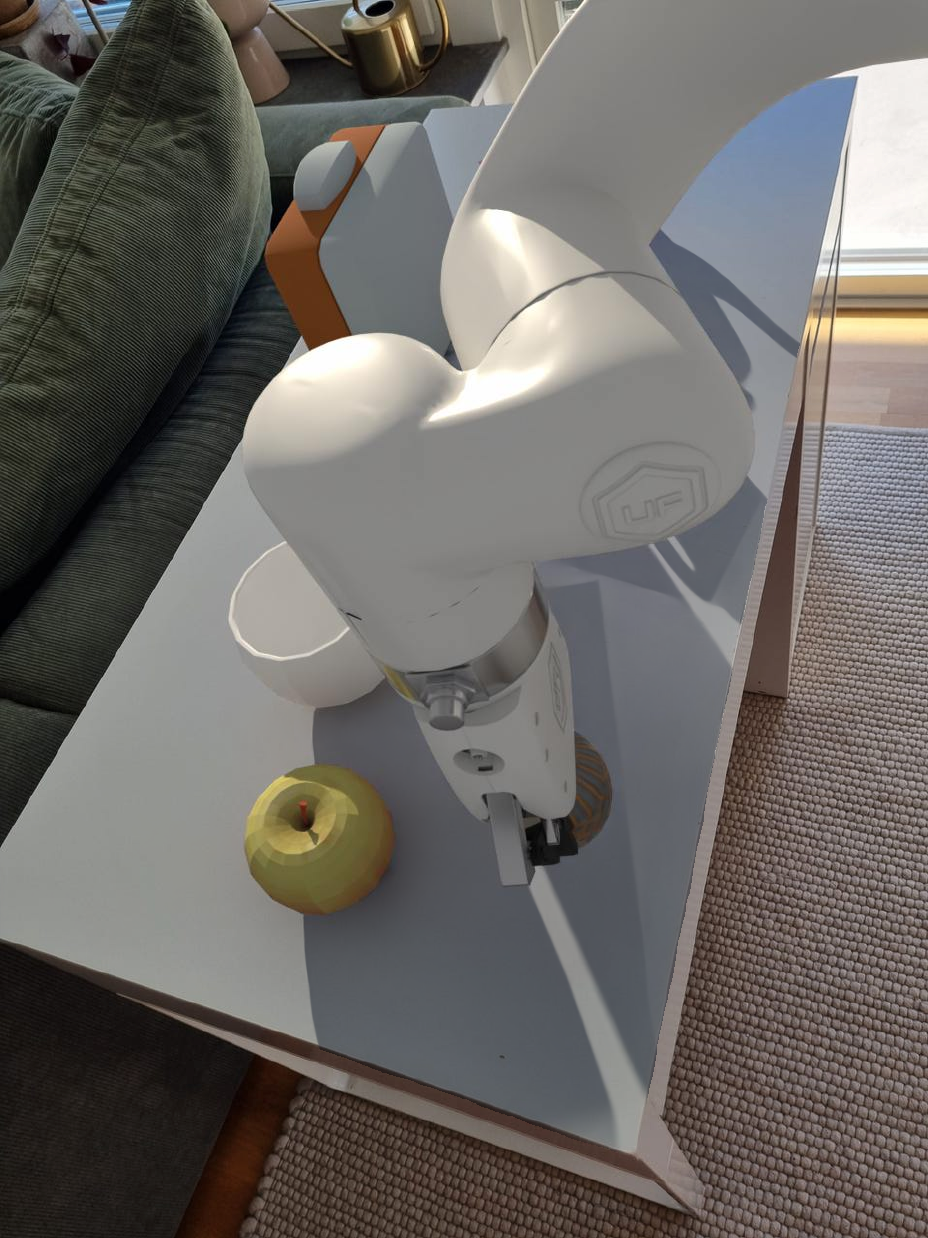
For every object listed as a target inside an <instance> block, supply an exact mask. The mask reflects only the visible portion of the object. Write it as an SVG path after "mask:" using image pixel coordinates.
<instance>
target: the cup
mask: <svg viewBox="0 0 928 1238" xmlns="http://www.w3.org/2000/svg"><path fill="white" fill-rule="evenodd" d="M230 598H231V599H230V605H229V613H228V620H227V621H228V624H229V627H230V630H231V633H232V636H233V639H234V643H235V644H236V647H237V651H238V653H239V656H240V660H241V661H242V663H243V664H244V665H245V666H246V667H247V669H249V671H251V673H252V674H253V675H254V676H255V678H257V679H258V680H259V682H261V683H262V684H263V685H265V686H266V687H267V688H268V689H269V690H270V691H271V692H272V693H274V694H275V695H276V696H278V697H280V698H283V699H285V700H287V701H290V702H293V703H295V704H299V705H304V706H308V707H312V708H316V709H324V708H330V707H336V706H342V705H347V704H349V703H352V702H354V701H355V700H357V699H358V700H359V698H362V697H363V696H365V695H367V694H369V693H372V691H374V690H375V689H376V688H377V686H378V685H379V684H380V683H381V682H382V681H383V680H384V679H386V678H385V676H384V675H383V674H382V672H381V671H380V669H379V668H378V667H377V665H376V664H375V663H374V661H373V660H372V658H371V657H370V656H369V654H368V653H367V652H366V650H365V649H364V647H363V646H362V645H361V643H360V642H359V640H358V639H357V637H356V636H355V635H354V633H353V632H352V631H351V629H350V628H349V626H348V625H347V624H346V622H345V621H344V620H343V618H342V617H341V615H340V614H339V613H338V611H337V610H336V609H335V607H334V606H333V605H332V603H331V602H330V600H329V599H328V598H327V596H326V595H325V594H324V592H323V591H322V589H321V588H320V587H319V585H318V584H317V583H316V581H315V580H314V579H313V577H312V576H311V574H310V573H309V572H308V570H307V569H306V568H305V566H304V565H303V563H302V562H301V561H300V559H299V558H298V557H297V555H296V554H295V553H294V551H293V550H292V548H291V547H290V546H289V544H288V543H287V542H286V540H285V541H283V542H281V543H279V544H277V545H275V546H273V547H271V548H270V549H269V548H268V549H267V550H266V551H265V552H264V553H263V554H261V555H260V556H259V557H258V558H257V560H255V561H254V562H253V563H252V564H251V565H250V566H249V567H248V568H247V569H246V570H245V571H244V573H243V574H242V576H241V578H240V580H239V582H238V583H237V585H236V587H235V589H234V591H233V593H232V594H231V597H230Z"/></svg>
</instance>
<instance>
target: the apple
mask: <svg viewBox="0 0 928 1238" xmlns="http://www.w3.org/2000/svg"><path fill="white" fill-rule="evenodd" d="M251 809H252V810H251V811H250V814H249V815H248V817H247V820H246V827H245V835H244V842H243V843H244V845H243V846H244V848H243V849H244V855H245V858H246V863H247V866H248V870H249V873H250V875H251V877H252V878H253V879H254V881H255V882H256V883H257V884H258V885H259V887H260V888H261V889H262V890H263V891H264V892H265V894H266V895H267V896H268V897H269V898H270V899H271V900H273V901H274V902H276V903H277V904H279V905H282V906H284V907H286V908H289V909H290V910H293V911H294V912H297V913H299V914H301V915H329V914H332V913H335V912H339V911H340V910H344V909H346V908H349V907H351V906H354V905H356V904H358V903H359V902H360V901H362V899H363V898H364V897H366V896H367V895H368V894H369V893H370V892H372V891H373V890H374V889H375V888H376V887H377V885H378V883H379V882H380V880H381V879H382V877H383V875H384V874H385V872H386V870H387V869H388V867H389V865H390V862H391V858H392V854H393V849H394V848H393V847H394V844H395V839H396V836H395V835H396V834H395V830H394V824H393V818H392V817H393V816H392V813H391V811H390V809H389V807H388V805H387V804H386V802H385V801H384V799H383V798H382V797H381V795H380V793H379V791H378V790H377V789H376V787H375V786H374V785H373V784H372V783H371V782H370V781H369V780H368V779H367V778H365V777H363V776H362V775H360V774H359V773H357V772H356V771H353V770H352V769H350V768H349V767H345V766H338V765H332V764H325V763H317V764H316V763H315V764H313V765H312V764H311V765H306V766H302V767H296V768H294V769H292V770H291V771H288V772H287V773H285V774H283V775H282V776H280V777H278V778H276V779H274V781H272V783H270V784H269V786H268V787H267V788H266V789H265V790H264V791H263V792H262V793H261V794H260V795H259V796H258V797H257V799H256V801H255V803H254V805H253V807H252V808H251Z"/></svg>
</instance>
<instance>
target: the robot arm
mask: <svg viewBox="0 0 928 1238" xmlns="http://www.w3.org/2000/svg"><path fill="white" fill-rule="evenodd" d="M922 59H928V0H583V1H582V3H581V4H580V5H579V6H578V7H577V9H576V10H575V11H574V12H573V13H572V15H571V16H569V18H568V19H567V21H566V22H565V24H564V25H563V26H562V27H561V29H560V30H559V32H558V33H557V34H556V36H555V37H554V38H553V40H552V42H551V43H550V44H549V46H548V47H547V49H546V50H545V52H544V53H543V55H542V56H541V58H540V59H539V61H538V63H537V64H536V65H535V67H534V69H533V71H532V72H531V74H530V75H529V77H528V79H527V81H526V83H525V84H524V86H523V88H522V90H521V91H520V93H519V95H518V96H517V98H516V100H515V101H514V104H513V105H512V107H511V109H510V111H509V112H508V114H507V116H506V118H505V120H504V122H503V124H502V125H501V127H500V129H499V131H498V133H497V134H496V136H495V138H493V139H494V140H493V141H492V143H491V145H490V147H489V149H488V151H487V152H486V154H485V156H484V158H482V159H483V161H482V160H481V161H482V163H481V165H479V167H478V169H477V171H476V172H475V174H474V175H473V178H472V180H471V183H470V184H469V186H468V188H467V190H466V192H465V194H464V197H463V198H462V200H461V203H460V205H459V208H458V210H457V213H456V214H455V216H454V218H453V220H454V222H453V225H452V227H451V230H450V234H449V237H448V241H447V245H446V248H445V252H444V256H443V260H442V268H441V282H440V295H441V303H442V309H443V314H444V318H445V321H446V325H447V328H448V331H449V335H450V338H451V343H452V346H453V349H454V351H455V355H456V358H457V360H458V363H459V365H460V368H461V370H458V369H457V368H455V367H454V366H452V365H451V364H450V362H448V360H446V358H444V357H442V356H440V355H439V354H438V353H437V352H435V351H434V350H433V349H432V348H430V347H429V346H427V345H425V344H423V343H421V342H419V341H417V340H414V339H412V338H409V337H406V336H402V335H397V334H391V333H369V334H359V335H354V336H349V337H344V338H340V339H337V340H334V341H331V342H328V343H326V344H324V345H321V346H319V347H317V348H315V349H313V350H311V351H309V350H308V351H307V352H306V353H304V354H303V355H301V356H299V357H297V358H296V359H295V360H293V361H292V362H290V363H289V364H288V365H286V366H285V367H284V368H283V369H282V370H281V371H280V372H279V373H278V374H276V376H273V378H272V379H271V381H270V382H269V383H268V384H267V386H265V388H264V389H263V390H262V392H261V393H260V395H259V396H258V397H257V399H256V401H255V402H254V403H253V405H252V408H251V410H250V412H249V414H248V417H247V419H246V423H245V426H244V428H243V429H244V430H243V435H242V443H241V457H242V463H243V470H244V474H245V478H246V480H247V483H248V486H249V488H250V490H251V492H252V494H253V496H254V497H255V499H256V500H257V502H258V504H259V505H260V507H261V508H262V510H263V511H264V513H265V514H266V516H267V517H268V518H269V520H270V521H271V522H272V524H273V525H274V527H275V528H276V530H277V531H278V532H279V534H280V535H281V537H283V539H284V540H285V541H286V542H287V543H288V544H289V546H290V547H291V548H292V550H293V551H294V553H295V554H296V555H297V557H298V558H299V559H300V561H301V562H302V563H303V565H304V566H305V568H306V569H307V570H308V572H309V573H310V574H311V576H312V577H313V579H314V580H315V581H316V583H317V584H318V585H319V587H320V588H321V589H322V591H323V592H324V594H325V595H326V596H327V598H328V599H329V600H330V602H331V603H332V605H333V606H334V607H335V609H336V610H337V611H338V613H339V614H340V615H341V617H342V618H343V620H344V621H345V622H346V624H347V625H348V626H349V628H350V629H351V631H352V632H353V633H354V635H355V636H356V637H357V639H358V640H359V642H360V643H361V645H362V646H363V647H364V649H365V650H366V652H367V653H368V654H369V656H370V657H371V658H372V660H373V661H374V663H375V664H376V665H377V667H378V668H379V669H380V671H381V672H382V674H383V675H384V676H385V678H384V679H386V681H387V682H388V684H389V685H390V686H391V688H393V689H394V690H395V692H396V693H397V694H398V695H399V696H400V697H402V698H403V699H404V700H406V701H407V702H408V703H411V706H412V711H413V714H414V717H415V718H416V722H417V724H418V725H419V728H420V730H421V732H422V735H423V737H424V739H425V741H426V743H427V745H428V747H429V750H430V751H431V753H432V755H433V757H434V759H435V761H436V763H437V764H438V765H437V766H439V768H440V770H441V771H442V774H443V775H444V777H445V779H446V780H447V782H448V783H449V785H450V787H451V789H452V790H453V792H454V793H455V795H456V796H457V797H458V799H459V800H460V802H461V803H462V805H464V807H465V808H466V809H467V810H468V812H470V814H471V815H472V816H473V817H474V818H476V819H477V820H478V821H480V822H482V823H483V824H489V822H490V825H491V831H492V836H493V842H494V847H495V855H496V859H497V860H496V861H497V866H498V871H499V878H500V882H501V885H502V887H503V888H510V887H512V888H513V887H525V886H526V887H527V886H530V885H532V881H533V879H534V877H535V874H536V867H543V866H545V867H546V866H555V865H558V864H560V863H561V857H573V856H577V855H579V849H578V843H577V841H576V839H575V837H574V836H573V834H572V832H571V830H570V828H569V826H568V825H567V823H566V821H565V819H564V818H563V817H566V816H567V815H568V814H569V813H570V812H571V810H572V808H573V806H574V804H575V798H576V769H575V744H574V731H575V724H574V705H573V703H574V702H573V688H572V671H571V663H570V662H571V661H570V655H569V649H568V645H567V642H566V640H565V637H564V635H563V633H562V630H561V628H560V626H559V624H558V621H557V620H556V617H555V615H554V613H553V611H552V610H551V605H550V602H549V599H548V596H547V595H546V591H545V589H544V585H543V584H542V581H541V578H540V576H539V573H538V571H537V567H536V566H535V563H537V562H538V563H539V562H545V561H554V560H560V559H561V560H562V559H569V558H570V559H571V558H577V557H585V556H593V555H601V554H608V553H613V552H614V553H615V552H619V551H624V550H630V549H634V548H639V547H643V546H647V545H651V544H655V543H659V542H661V541H665V540H667V539H670V538H672V537H675V536H678V535H681V534H683V533H685V532H687V531H689V530H692V529H694V528H696V527H697V526H699V525H701V524H703V523H704V522H706V521H707V520H709V519H710V518H712V517H713V516H715V515H716V514H718V512H719V511H721V510H722V509H723V508H724V507H725V506H726V505H727V504H728V503H729V502H730V501H731V500H732V499H733V498H734V496H735V495H736V494H737V493H738V491H739V490H740V489H741V487H742V486H743V484H744V483H745V481H746V478H747V477H748V474H749V472H750V469H751V467H752V465H753V464H752V463H753V460H754V456H755V448H756V432H755V431H756V430H755V426H754V425H755V424H754V419H753V415H752V411H751V408H750V406H749V403H748V400H747V398H746V396H745V394H744V392H743V390H742V388H741V385H740V384H739V382H738V380H737V378H736V376H735V374H734V373H733V371H732V370H731V369H730V367H729V365H728V364H727V362H726V361H725V359H724V357H723V356H722V355H721V354H720V351H719V350H718V349H717V348H716V345H715V344H714V343H713V341H712V340H711V338H710V337H709V335H708V334H707V332H706V330H705V329H704V328H703V326H702V325H701V323H700V322H699V321H698V319H697V317H696V316H695V314H694V313H693V311H692V310H691V309H690V307H689V305H688V304H687V302H686V300H685V299H684V297H683V295H682V294H681V293H680V291H679V289H678V287H677V286H676V284H675V283H674V282H673V280H672V279H671V277H670V275H669V274H668V273H667V270H666V269H665V268H664V266H663V265H662V264H661V262H660V260H659V258H658V257H657V255H656V254H655V252H654V250H653V249H652V248H651V246H650V244H651V243H652V241H653V240H654V239H655V237H656V235H657V234H658V233H659V231H660V230H661V228H662V227H663V225H664V224H665V222H666V221H667V220H668V218H669V217H670V215H671V214H672V212H673V211H674V210H675V208H676V207H677V205H679V203H680V201H681V200H682V199H683V197H684V196H685V195H686V193H687V192H688V190H689V189H690V188H691V186H693V184H694V182H695V181H696V180H697V179H698V177H699V176H700V174H701V173H703V171H704V169H706V167H707V166H708V165H709V164H710V162H711V161H712V160H713V159H714V158H715V157H716V155H717V154H719V152H720V151H721V150H722V149H723V148H724V147H725V146H726V145H728V143H729V142H730V141H731V140H732V139H733V138H734V137H735V136H736V135H737V134H738V133H740V132H741V131H742V130H743V129H744V128H745V127H747V126H748V125H749V124H750V123H751V122H753V120H755V119H756V118H757V117H759V116H760V115H761V114H762V113H764V112H765V111H766V110H768V109H770V108H772V107H773V106H775V105H776V104H777V103H779V102H781V101H782V100H784V99H785V98H787V97H789V96H790V95H793V94H794V93H796V92H799V91H800V90H802V89H804V88H806V87H809V86H810V85H812V84H814V83H817V82H820V81H823V80H824V79H828V78H831V77H834V76H836V75H837V76H838V75H839V74H842V73H845V72H850V71H854V70H858V69H862V68H867V67H870V66H871V67H872V66H877V65H885V64H893V63H899V62H900V63H901V62H909V61H914V60H922ZM525 810H526V811H528V812H530V813H532V814H534V815H536V816H538V817H530V818H523V816H522V811H525Z"/></svg>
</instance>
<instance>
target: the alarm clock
mask: <svg viewBox="0 0 928 1238" xmlns="http://www.w3.org/2000/svg"><path fill="white" fill-rule="evenodd" d="M453 222H454V217H453V214H452V211H451V207H450V203H449V201H448V198H447V193H446V191H445V187H444V184H443V181H442V178H441V175H440V171H439V168H438V165H437V161H436V158H435V155H434V151H433V148H432V145H431V141H430V138H429V135H428V131H427V129H426V128H425V126H424V124H423V123H420V122H418V121H408V122H398V123H397V122H396V123H391V124H390V123H388V124H387V123H386V124H377V125H375V124H374V125H365V126H355V127H354V126H353V127H344V128H341V129H339V130H336V132H334V133H333V134H332V136H331V138H330V139H329V141H328V142H324V143H322V144H320V145H317V146H315V147H314V148H313V149H312V150H310V151H309V152H308V153H306V155H305V156H304V157H303V159H301V160H300V163H299V165H298V167H297V169H296V171H295V176H294V181H293V200H292V202H291V203H290V205H289V207H288V208H287V210H286V212H285V213H284V215H283V216H282V218H281V220H280V221H279V223H278V225H277V226H276V228H275V230H274V231H273V233H272V234H271V236H270V238H269V239H268V240H267V243H266V245H265V252H264V255H263V256H264V260H265V265H266V269H267V271H268V272H269V275H270V277H271V278H272V281H273V282H274V285H275V286H276V289H277V291H278V292H279V294H280V296H281V298H282V300H283V302H284V304H285V306H286V308H287V311H288V312H289V315H290V316H291V318H292V320H293V322H294V324H295V326H296V328H297V329H298V331H299V334H300V335H301V337H302V340H303V341H304V343H305V346H306V347H307V349H308V352H309V351H311V350H313V349H315V348H317V347H319V346H321V345H324V344H326V343H328V342H331V341H334V340H337V339H340V338H344V337H349V336H354V335H359V334H369V333H391V334H397V335H402V336H406V337H409V338H412V339H414V340H417V341H419V342H421V343H423V344H425V345H427V346H429V347H430V348H432V349H433V350H434V351H435V352H437V353H438V354H439V355H440V356H442V357H443V358H444V357H445V355H446V353H447V350H448V348H449V346H450V344H451V342H452V340H451V338H450V335H449V331H448V328H447V325H446V321H445V318H444V314H443V309H442V303H441V295H440V282H441V268H442V260H443V256H444V252H445V248H446V245H447V241H448V237H449V234H450V230H451V227H452V225H453Z"/></svg>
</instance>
